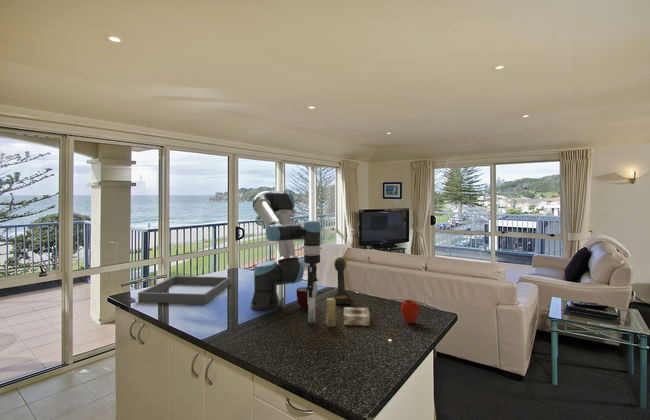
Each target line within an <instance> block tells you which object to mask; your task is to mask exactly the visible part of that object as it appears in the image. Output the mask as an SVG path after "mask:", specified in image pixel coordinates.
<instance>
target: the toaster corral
mask: <svg viewBox="0 0 650 420" xmlns="http://www.w3.org/2000/svg"><path fill="white" fill-rule="evenodd" d="M175 285H195V286H196V285H202V286H213V287H212V288H211V289H208V290H207V291H206V292H205V293H184V292H183V293H179V292H178V293H177V292H175V293H174V292H163V291H165V290H168V289H169V288H171V287H173V286H175ZM229 285H230V286H231V277H230V276H197V275H196V276H193V275H191V276H190V275H187V276H185V275H184V276H183V275H174V276H172V277H170V278H168V279H165V280H163V281H161V282H158V283H157V284H156V283H155V285H152V286H150V287H148V288H146V289H143V290H141V291H139V292H138V293H137V301H138V303H156V304H157V303H159V304H163V303H166V304H188V305H189V304H190V305H191V304H193V305H195V304H196V305H197V304H198V305H206V304H208V303H209V302H210V301H212V300H213V299H215V297H217V296H218V295H219V294H220V293H222V292H223V291H224V290H226V289H227V288H229ZM225 288H226V289H225ZM221 291H222V292H221ZM216 295H217V296H216Z"/></svg>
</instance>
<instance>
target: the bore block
mask: <svg viewBox="0 0 650 420" xmlns="http://www.w3.org/2000/svg"><path fill="white" fill-rule="evenodd" d="M343 326H371V316H370V310H369V307H351V306H350V307H349V306H344V307H343Z"/></svg>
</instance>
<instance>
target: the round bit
mask: <svg viewBox="0 0 650 420" xmlns="http://www.w3.org/2000/svg"><path fill="white" fill-rule="evenodd" d="M307 319H308V320H307V323H308V324H315V323H316V295H314V304H308V308H307Z"/></svg>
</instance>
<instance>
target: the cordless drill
mask: <svg viewBox="0 0 650 420" xmlns="http://www.w3.org/2000/svg"><path fill="white" fill-rule="evenodd" d="M333 265H334V268H335V271H336V272H337V290H335V292H334V297H333V298H334V299H335V300H336V303H335V305H350V303H351V301H350V300H351V297H350V296H351V294H350V292H349V290H348V289H346V286H345V273H344V272H345V269H346V267H347V260H346V258H344V257H343V256H342V257H341V256H338V257H336V258H335V259H334V264H333Z"/></svg>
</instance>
